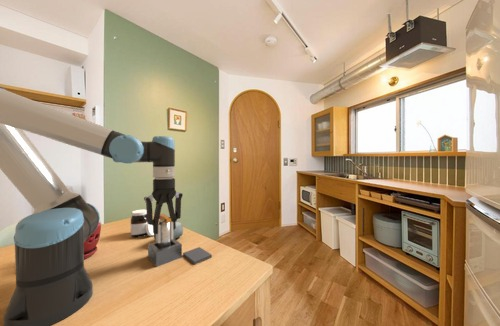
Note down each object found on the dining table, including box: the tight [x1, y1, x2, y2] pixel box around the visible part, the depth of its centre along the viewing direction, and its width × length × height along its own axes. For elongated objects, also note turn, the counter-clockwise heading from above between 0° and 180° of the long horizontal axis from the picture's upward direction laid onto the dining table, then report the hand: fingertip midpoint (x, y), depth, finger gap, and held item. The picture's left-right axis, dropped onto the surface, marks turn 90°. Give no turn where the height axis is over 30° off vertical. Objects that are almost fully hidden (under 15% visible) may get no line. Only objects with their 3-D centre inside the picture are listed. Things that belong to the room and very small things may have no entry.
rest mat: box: [182, 246, 213, 265], centre depth 72 cm, size 7×9×1 cm
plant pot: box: [84, 221, 102, 260], centre depth 72 cm, size 13×13×12 cm
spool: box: [153, 220, 184, 242], centre depth 86 cm, size 14×10×10 cm
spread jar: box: [130, 208, 154, 238], centre depth 93 cm, size 12×11×12 cm
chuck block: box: [147, 238, 183, 268], centre depth 71 cm, size 9×9×5 cm
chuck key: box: [158, 213, 171, 249], centre depth 71 cm, size 4×8×16 cm, turn 44°
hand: (164, 239), depth 71 cm, fingers closed on chuck key, 4 cm apart
